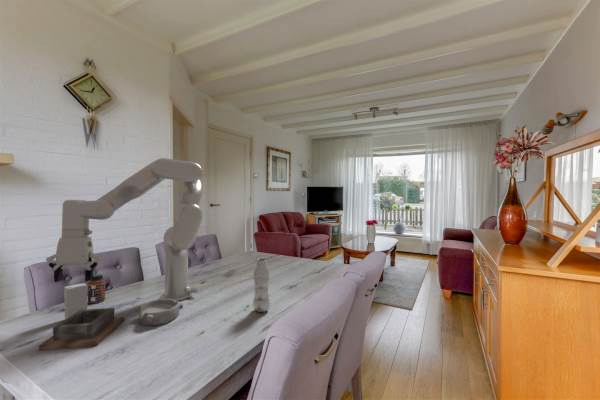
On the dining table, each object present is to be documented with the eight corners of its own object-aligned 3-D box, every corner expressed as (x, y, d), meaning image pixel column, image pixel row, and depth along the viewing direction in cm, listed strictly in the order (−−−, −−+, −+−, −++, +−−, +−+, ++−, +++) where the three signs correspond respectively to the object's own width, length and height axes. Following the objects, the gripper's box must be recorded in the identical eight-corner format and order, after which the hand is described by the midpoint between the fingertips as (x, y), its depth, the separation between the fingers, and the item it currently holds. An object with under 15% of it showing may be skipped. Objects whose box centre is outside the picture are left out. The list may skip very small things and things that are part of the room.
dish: (151, 331, 89) (151, 316, 89) (129, 320, 97) (129, 307, 97) (189, 315, 102) (189, 302, 102) (167, 307, 109) (167, 295, 109)
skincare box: (85, 314, 102) (85, 282, 102) (88, 317, 99) (88, 284, 99) (63, 319, 97) (63, 286, 97) (66, 323, 94) (66, 288, 94)
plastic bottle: (256, 315, 101) (256, 262, 101) (250, 309, 107) (251, 258, 107) (272, 312, 104) (272, 260, 104) (266, 306, 110) (266, 257, 110)
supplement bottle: (95, 304, 111) (95, 277, 111) (84, 303, 112) (84, 276, 112) (108, 299, 117) (108, 273, 117) (97, 298, 118) (97, 272, 118)
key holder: (124, 320, 97) (124, 305, 97) (96, 345, 80) (97, 327, 80) (77, 323, 94) (77, 307, 94) (38, 350, 77) (38, 331, 77)
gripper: (107, 232, 103) (105, 277, 103) (55, 232, 100) (54, 278, 100) (95, 234, 95) (94, 283, 95) (39, 234, 93) (38, 284, 92)
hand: (73, 280), depth 97 cm, fingers open, 9 cm apart
